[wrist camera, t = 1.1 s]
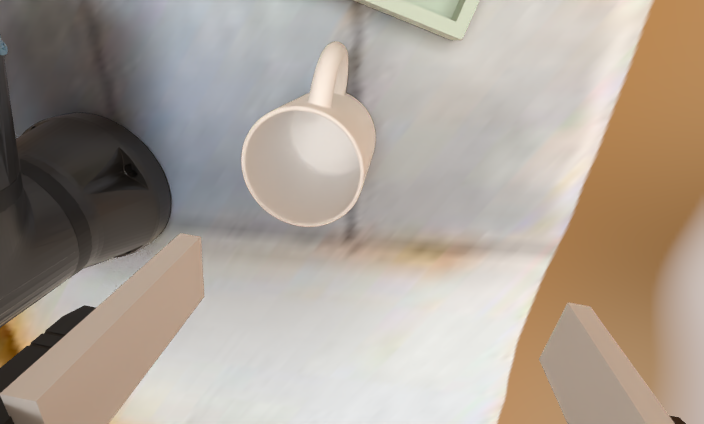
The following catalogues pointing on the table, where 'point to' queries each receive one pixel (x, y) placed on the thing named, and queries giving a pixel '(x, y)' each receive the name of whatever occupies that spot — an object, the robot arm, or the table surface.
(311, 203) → the mug
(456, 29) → the caddy
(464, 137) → the table surface
